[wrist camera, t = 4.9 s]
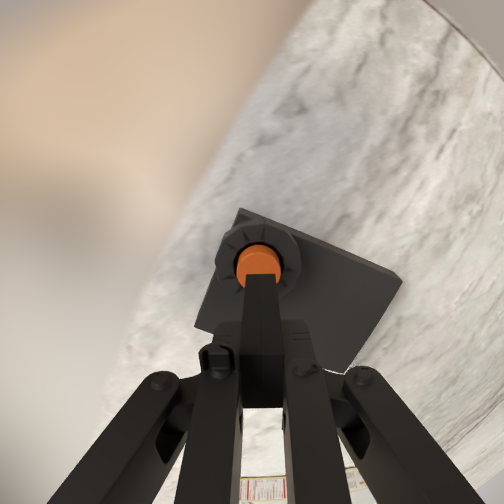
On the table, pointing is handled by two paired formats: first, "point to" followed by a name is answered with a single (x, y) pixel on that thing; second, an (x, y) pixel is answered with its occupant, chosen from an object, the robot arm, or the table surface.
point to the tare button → (258, 263)
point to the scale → (304, 288)
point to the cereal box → (275, 491)
